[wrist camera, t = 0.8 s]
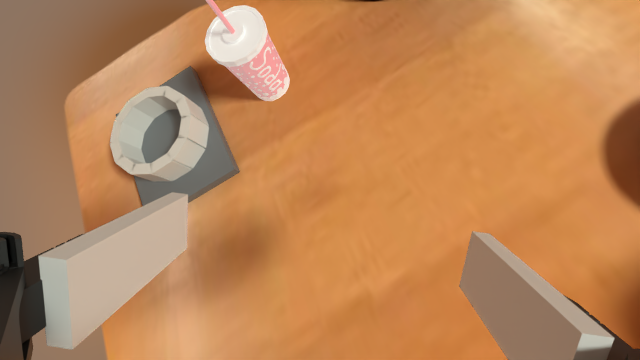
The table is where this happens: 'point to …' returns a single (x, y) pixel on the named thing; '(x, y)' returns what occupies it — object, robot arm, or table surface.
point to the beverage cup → (247, 50)
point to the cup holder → (172, 140)
